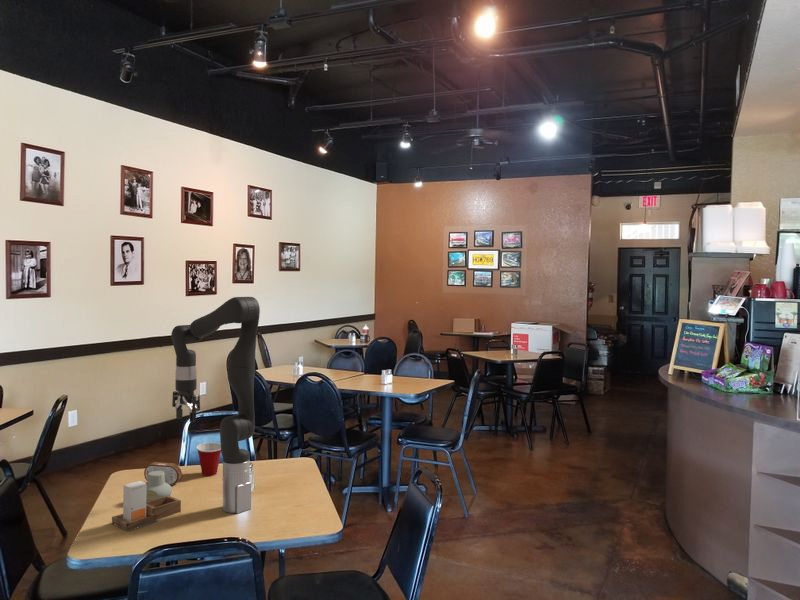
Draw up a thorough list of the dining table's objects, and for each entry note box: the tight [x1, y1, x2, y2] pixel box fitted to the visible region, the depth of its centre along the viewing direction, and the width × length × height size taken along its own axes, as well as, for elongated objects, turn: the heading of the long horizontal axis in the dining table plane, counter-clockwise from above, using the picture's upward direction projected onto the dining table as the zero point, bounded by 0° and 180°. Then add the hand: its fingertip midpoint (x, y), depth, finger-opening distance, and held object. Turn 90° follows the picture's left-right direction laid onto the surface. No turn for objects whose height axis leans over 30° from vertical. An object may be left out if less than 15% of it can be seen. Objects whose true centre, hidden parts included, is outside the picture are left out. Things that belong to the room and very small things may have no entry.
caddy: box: [111, 495, 182, 532], centre depth 203 cm, size 10×20×4 cm, turn 143°
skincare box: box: [122, 480, 147, 523], centre depth 199 cm, size 6×4×12 cm
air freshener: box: [146, 471, 173, 502], centre depth 221 cm, size 11×8×10 cm
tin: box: [143, 461, 183, 486], centre depth 238 cm, size 15×3×8 cm, turn 81°
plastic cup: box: [196, 442, 222, 477], centre depth 250 cm, size 11×11×12 cm
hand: (185, 420), depth 227 cm, fingers open, 8 cm apart
